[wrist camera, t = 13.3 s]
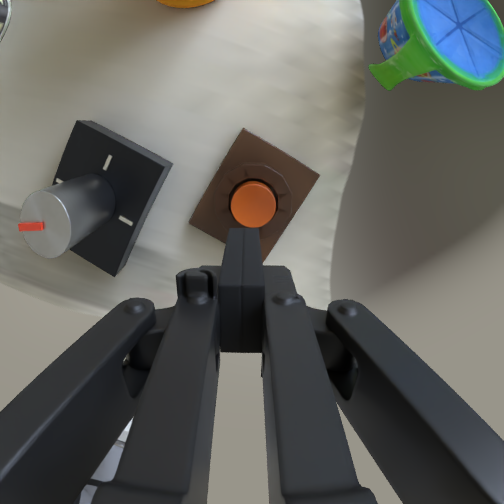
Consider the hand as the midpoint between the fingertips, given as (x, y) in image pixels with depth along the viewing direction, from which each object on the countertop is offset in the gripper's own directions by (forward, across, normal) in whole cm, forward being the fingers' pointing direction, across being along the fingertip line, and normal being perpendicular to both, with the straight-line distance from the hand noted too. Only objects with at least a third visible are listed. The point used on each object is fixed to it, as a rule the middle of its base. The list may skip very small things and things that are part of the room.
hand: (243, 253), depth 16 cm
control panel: (+14, -14, +1) cm, 20 cm away
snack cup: (+13, +16, +17) cm, 27 cm away
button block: (+14, +1, +1) cm, 14 cm away
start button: (+11, +1, +1) cm, 11 cm away
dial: (+11, -14, +1) cm, 18 cm away
